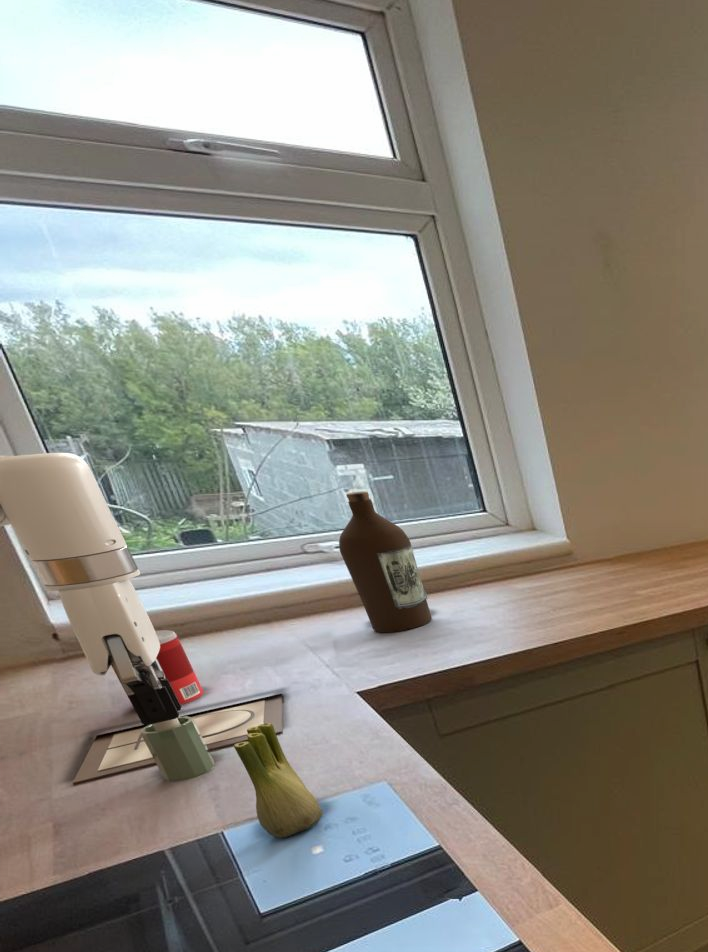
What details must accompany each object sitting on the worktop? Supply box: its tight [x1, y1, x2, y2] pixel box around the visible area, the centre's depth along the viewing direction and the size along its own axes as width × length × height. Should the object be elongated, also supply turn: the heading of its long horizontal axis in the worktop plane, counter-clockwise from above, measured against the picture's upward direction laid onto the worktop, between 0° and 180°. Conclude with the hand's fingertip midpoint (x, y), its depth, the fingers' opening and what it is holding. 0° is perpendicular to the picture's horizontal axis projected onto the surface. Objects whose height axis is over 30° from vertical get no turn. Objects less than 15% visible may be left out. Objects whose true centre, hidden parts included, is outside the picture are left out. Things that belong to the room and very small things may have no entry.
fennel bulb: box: [233, 723, 323, 838], centre depth 85 cm, size 6×5×12 cm
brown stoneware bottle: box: [338, 490, 433, 633], centre depth 150 cm, size 11×11×25 cm
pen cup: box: [140, 715, 216, 782], centre depth 99 cm, size 5×5×7 cm
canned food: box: [110, 629, 205, 707], centre depth 119 cm, size 8×8×11 cm
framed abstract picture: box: [72, 693, 285, 786], centre depth 111 cm, size 20×18×1 cm
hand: (162, 716), depth 98 cm, fingers closed, pressing on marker
